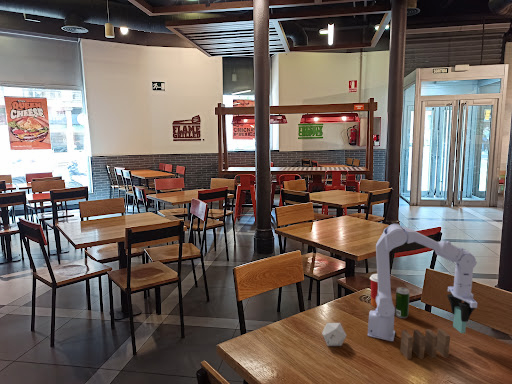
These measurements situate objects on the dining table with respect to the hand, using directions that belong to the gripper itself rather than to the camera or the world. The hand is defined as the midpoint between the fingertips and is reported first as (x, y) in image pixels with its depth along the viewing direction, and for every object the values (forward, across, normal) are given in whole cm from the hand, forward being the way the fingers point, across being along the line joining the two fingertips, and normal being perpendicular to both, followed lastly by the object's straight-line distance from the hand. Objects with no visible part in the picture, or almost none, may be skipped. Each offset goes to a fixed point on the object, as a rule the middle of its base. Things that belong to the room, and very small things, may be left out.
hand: (459, 317), depth 135 cm
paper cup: (+11, +33, +18) cm, 39 cm away
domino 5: (+5, 0, 0) cm, 5 cm away
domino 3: (+10, -6, +14) cm, 18 cm away
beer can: (+11, +23, +11) cm, 27 cm away
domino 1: (+10, -6, +23) cm, 26 cm away
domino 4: (+10, -6, +10) cm, 15 cm away
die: (+11, +3, +47) cm, 48 cm away
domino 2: (+10, -6, +18) cm, 22 cm away
